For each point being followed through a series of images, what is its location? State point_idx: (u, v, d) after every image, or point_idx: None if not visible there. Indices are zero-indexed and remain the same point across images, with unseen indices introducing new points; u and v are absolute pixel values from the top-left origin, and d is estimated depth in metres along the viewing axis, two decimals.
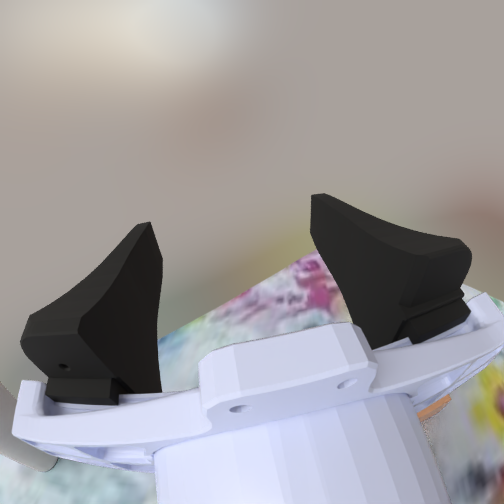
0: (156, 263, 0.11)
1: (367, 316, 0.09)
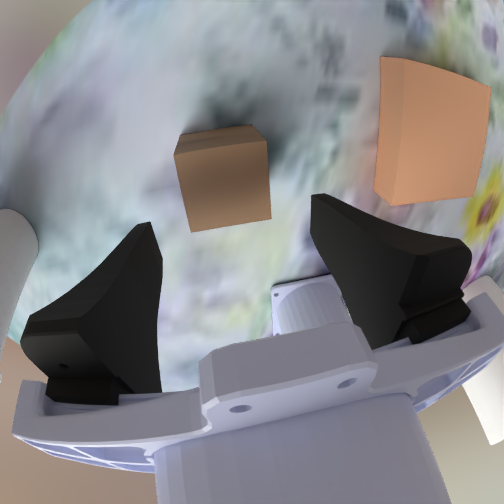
0: (156, 263, 0.11)
1: (367, 316, 0.09)
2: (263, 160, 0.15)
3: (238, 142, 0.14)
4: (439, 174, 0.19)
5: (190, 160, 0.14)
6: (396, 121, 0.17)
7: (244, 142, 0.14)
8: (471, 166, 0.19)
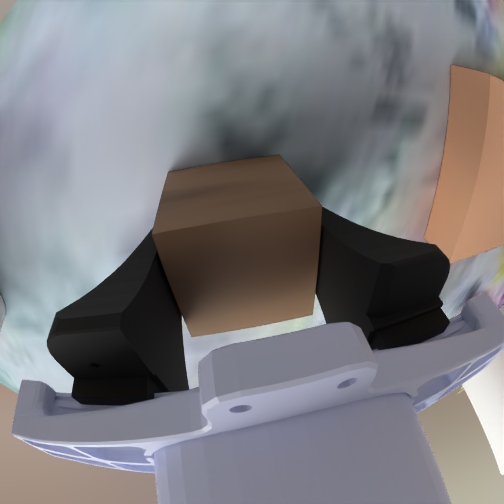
0: None
1: None
2: (312, 238, 0.09)
3: (271, 207, 0.08)
4: (500, 221, 0.13)
5: (183, 243, 0.08)
6: (471, 158, 0.11)
7: (283, 210, 0.08)
8: None
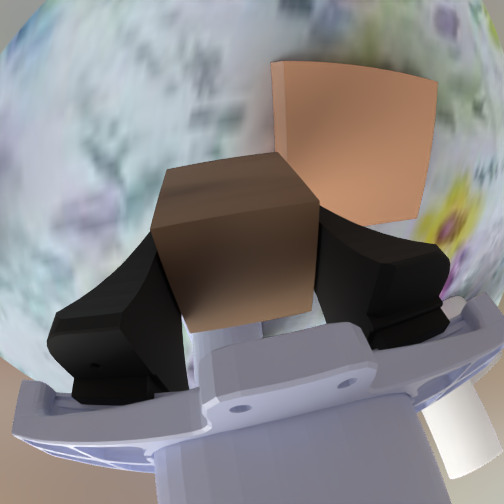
0: None
1: None
2: (310, 233, 0.09)
3: (269, 203, 0.08)
4: (357, 197, 0.19)
5: (181, 238, 0.08)
6: (283, 139, 0.16)
7: (281, 205, 0.08)
8: (410, 183, 0.19)
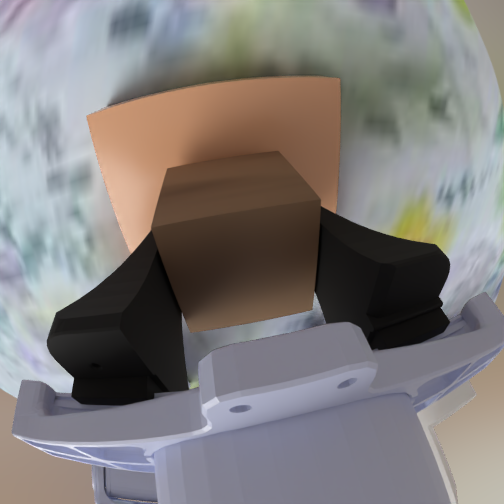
0: None
1: None
2: (312, 232, 0.09)
3: (270, 201, 0.08)
4: None
5: (182, 236, 0.08)
6: None
7: (282, 203, 0.08)
8: None
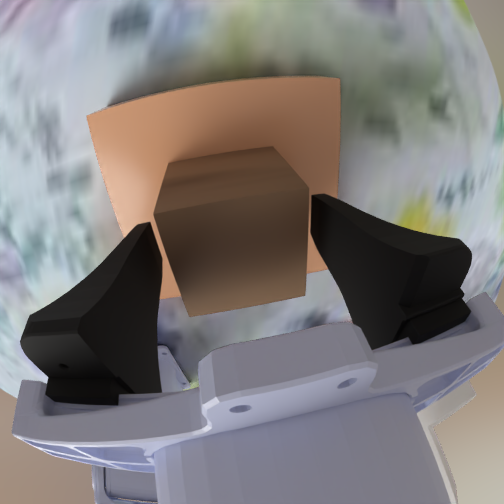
0: (156, 263, 0.11)
1: (367, 316, 0.09)
2: (301, 219, 0.09)
3: (262, 190, 0.09)
4: None
5: (182, 222, 0.09)
6: None
7: (273, 191, 0.09)
8: None
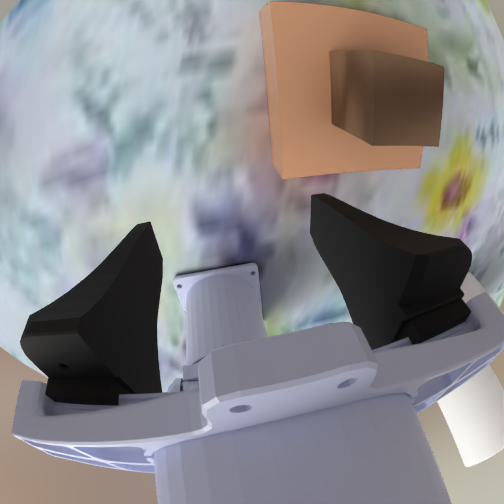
0: (156, 263, 0.11)
1: (367, 316, 0.09)
2: (440, 84, 0.10)
3: (422, 61, 0.10)
4: (355, 137, 0.17)
5: (387, 61, 0.09)
6: (273, 75, 0.14)
7: (429, 62, 0.09)
8: None
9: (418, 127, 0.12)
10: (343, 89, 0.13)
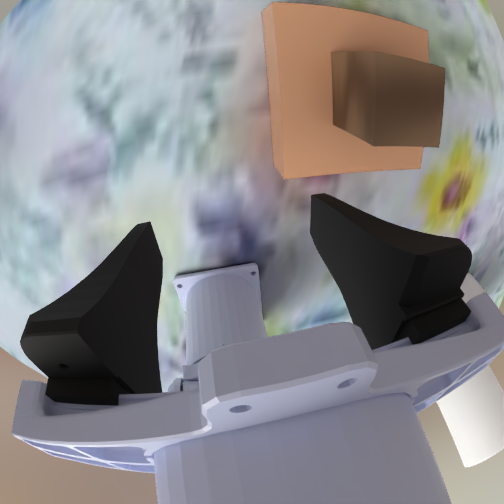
0: (156, 263, 0.11)
1: (367, 316, 0.09)
2: (441, 85, 0.10)
3: (423, 62, 0.10)
4: (356, 138, 0.17)
5: (389, 62, 0.09)
6: (275, 76, 0.14)
7: None
8: None
9: (419, 128, 0.12)
10: (344, 90, 0.13)
